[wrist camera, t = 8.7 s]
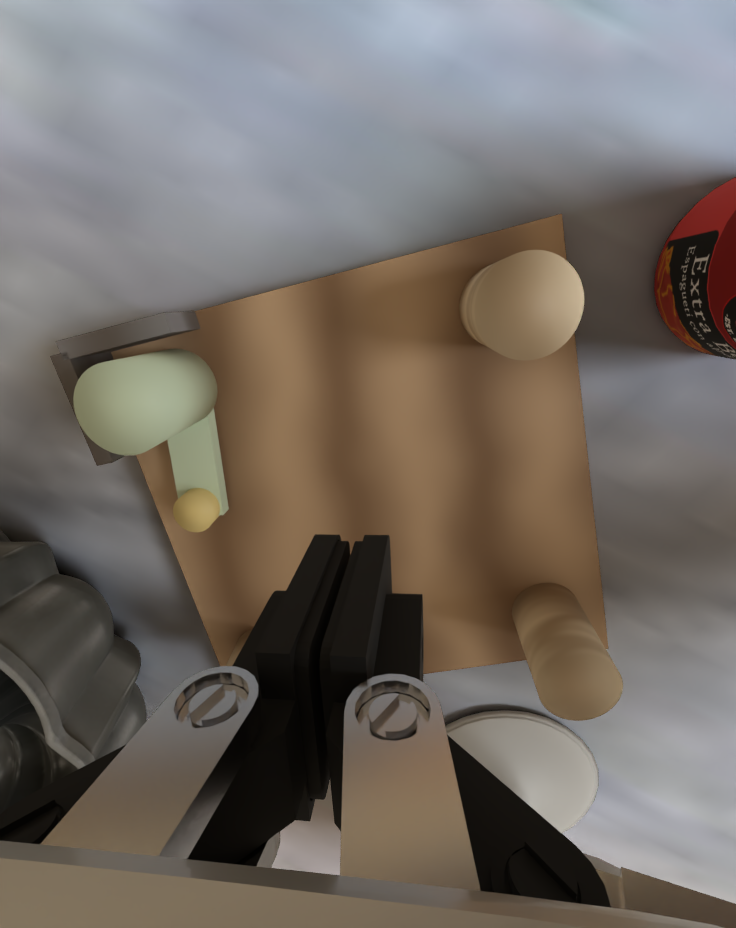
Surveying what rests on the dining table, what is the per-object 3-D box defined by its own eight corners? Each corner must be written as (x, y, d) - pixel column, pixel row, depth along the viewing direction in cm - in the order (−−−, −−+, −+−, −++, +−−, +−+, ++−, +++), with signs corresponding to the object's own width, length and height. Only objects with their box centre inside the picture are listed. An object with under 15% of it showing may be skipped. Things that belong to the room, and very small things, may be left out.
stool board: (548, 221, 22) (616, 182, 15) (594, 625, 28) (657, 733, 21) (113, 336, 25) (-4, 349, 18) (244, 675, 31) (196, 785, 24)
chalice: (560, 662, 29) (703, 1002, 15) (642, 815, 33) (824, 1209, 18) (360, 737, 32) (325, 1077, 18) (455, 869, 36) (487, 1243, 22)
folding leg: (242, 517, 25) (196, 577, 20) (177, 518, 25) (114, 577, 20) (217, 345, 22) (157, 359, 17) (146, 348, 23) (63, 363, 17)
